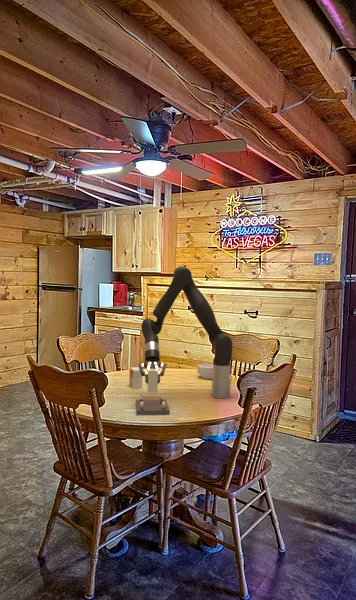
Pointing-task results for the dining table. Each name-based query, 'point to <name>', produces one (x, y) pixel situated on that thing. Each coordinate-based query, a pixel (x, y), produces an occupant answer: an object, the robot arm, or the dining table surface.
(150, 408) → the pin plate
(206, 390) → the dining table surface
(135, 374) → the small box
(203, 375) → the paper bowls
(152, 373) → the beige tall block
